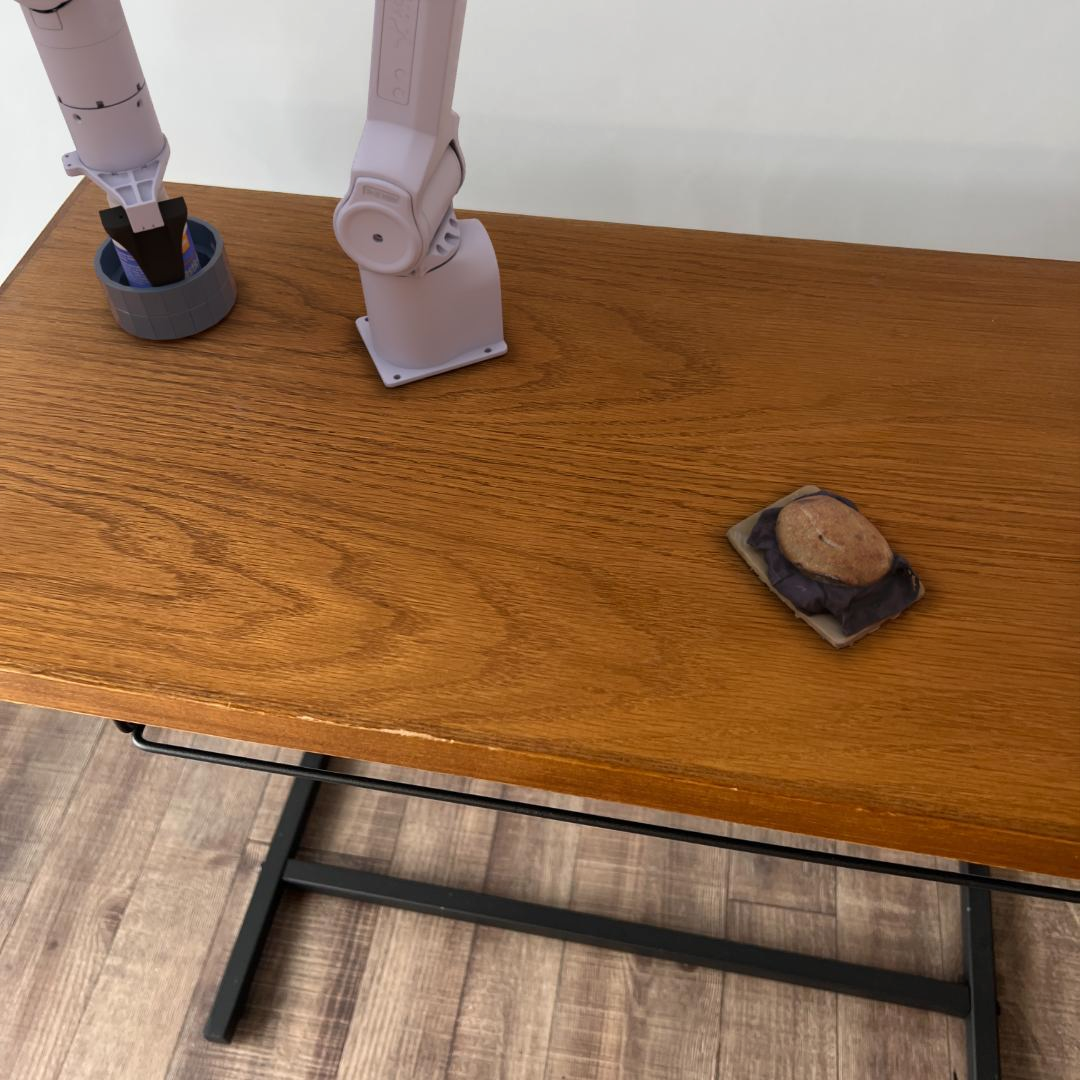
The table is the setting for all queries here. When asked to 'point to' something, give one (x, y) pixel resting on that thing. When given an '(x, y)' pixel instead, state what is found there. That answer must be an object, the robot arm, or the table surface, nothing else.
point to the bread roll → (827, 564)
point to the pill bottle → (133, 269)
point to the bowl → (171, 290)
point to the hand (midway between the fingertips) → (161, 259)
